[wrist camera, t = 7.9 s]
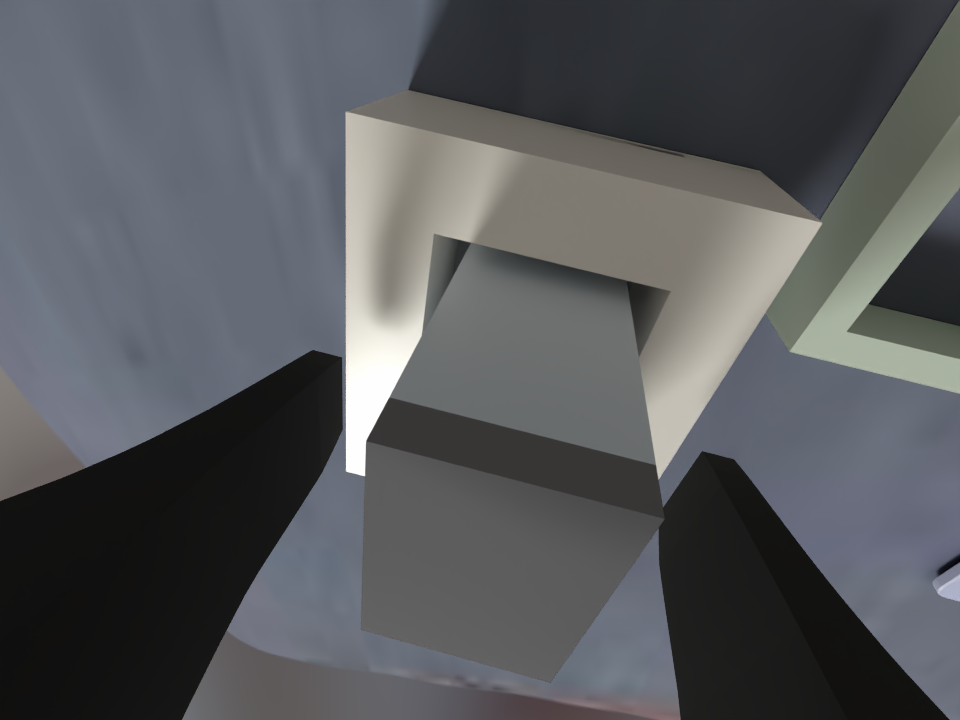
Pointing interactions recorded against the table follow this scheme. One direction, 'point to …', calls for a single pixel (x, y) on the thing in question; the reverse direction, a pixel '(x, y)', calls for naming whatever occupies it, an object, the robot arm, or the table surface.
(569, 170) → the frame
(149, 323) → the table surface
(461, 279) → the plug
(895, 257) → the pale green rectangular frame
